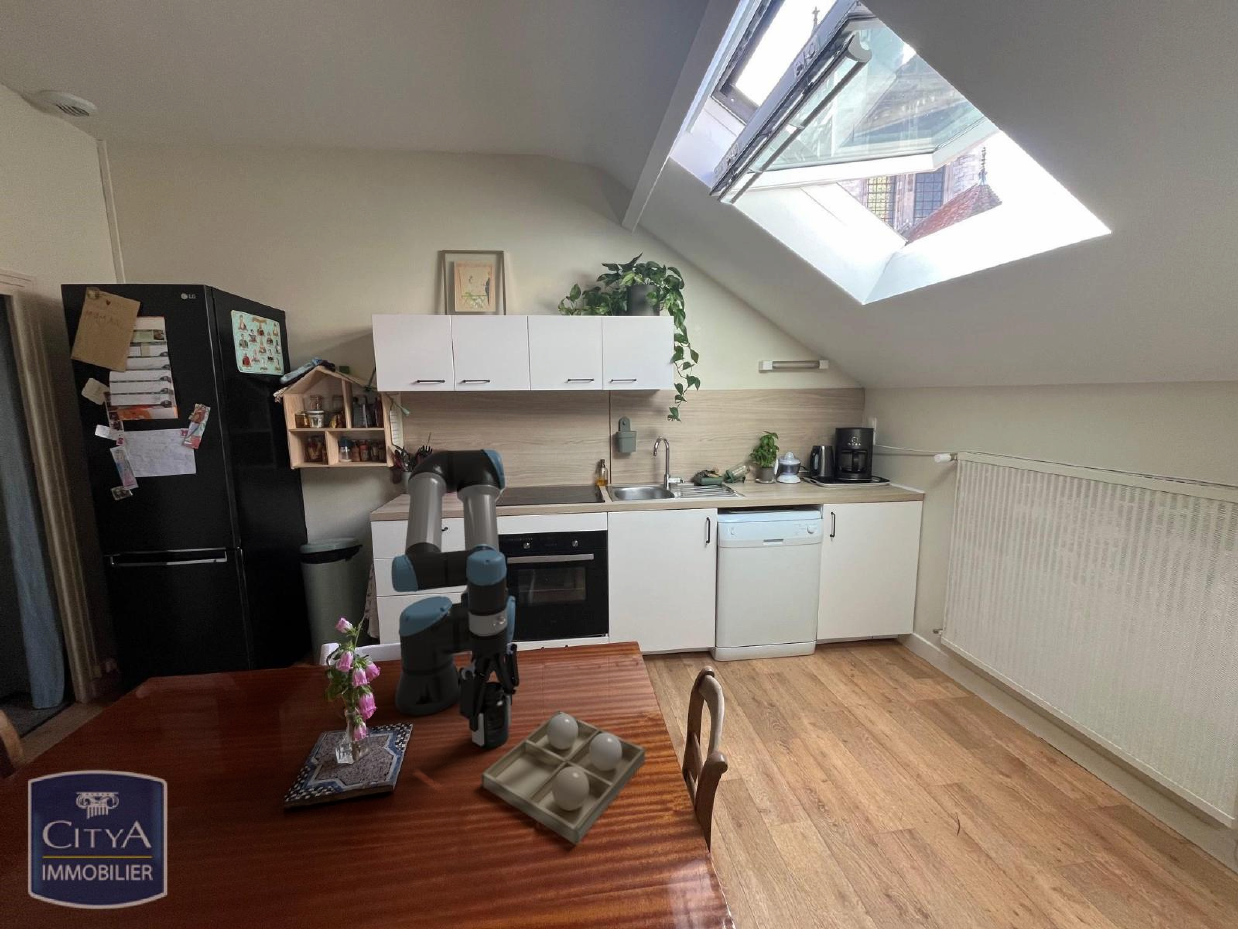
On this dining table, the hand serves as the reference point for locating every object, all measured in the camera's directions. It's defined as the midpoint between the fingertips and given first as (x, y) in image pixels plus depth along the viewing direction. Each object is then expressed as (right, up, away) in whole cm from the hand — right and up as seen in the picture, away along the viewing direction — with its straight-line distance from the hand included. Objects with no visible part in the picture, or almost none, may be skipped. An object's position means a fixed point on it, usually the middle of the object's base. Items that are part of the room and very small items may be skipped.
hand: (492, 731), depth 102 cm
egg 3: (+24, -2, -8) cm, 25 cm away
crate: (+17, -4, -9) cm, 19 cm away
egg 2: (+18, -4, -17) cm, 25 cm away
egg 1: (+15, -2, -2) cm, 15 cm away
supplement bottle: (0, -2, 0) cm, 2 cm away
